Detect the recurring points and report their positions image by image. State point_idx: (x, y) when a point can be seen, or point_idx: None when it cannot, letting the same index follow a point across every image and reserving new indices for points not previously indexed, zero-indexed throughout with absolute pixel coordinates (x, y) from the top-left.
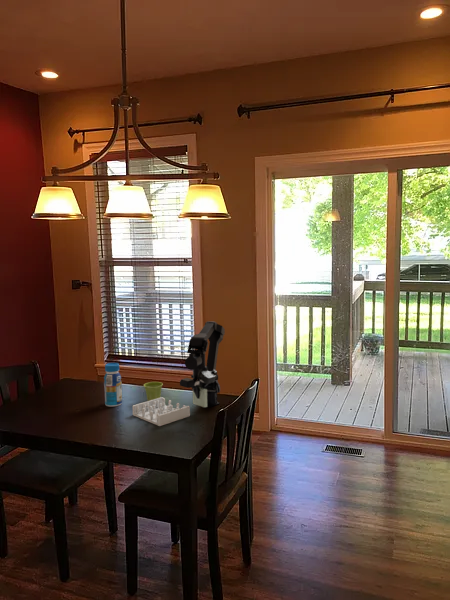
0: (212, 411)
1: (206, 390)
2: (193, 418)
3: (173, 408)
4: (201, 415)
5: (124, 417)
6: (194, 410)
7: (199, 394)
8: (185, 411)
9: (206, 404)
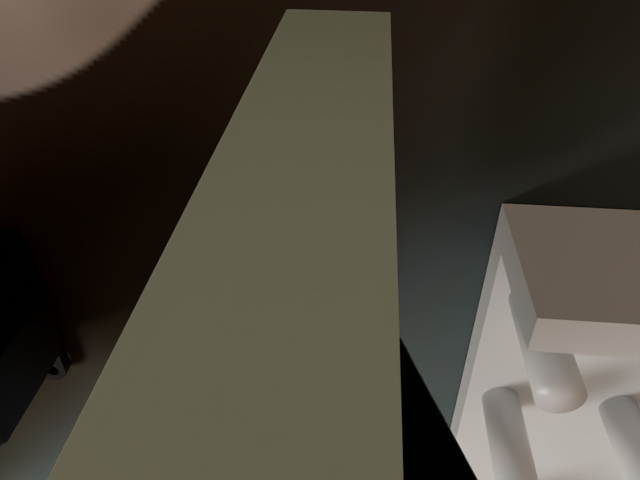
0: (86, 74)
1: (144, 415)
2: (573, 77)
3: None
4: None
5: None
6: None
7: None
8: (633, 271)
9: (312, 30)
